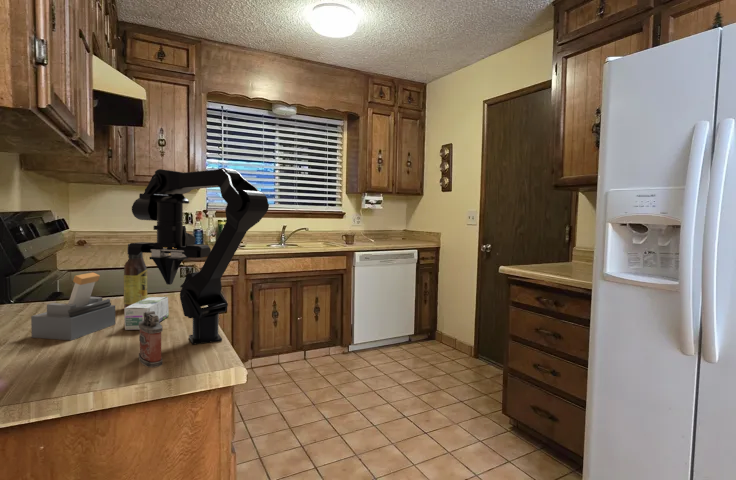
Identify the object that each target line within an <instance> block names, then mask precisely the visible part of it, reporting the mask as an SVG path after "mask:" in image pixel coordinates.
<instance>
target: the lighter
mask: <svg viewBox="0 0 736 480" xmlns="http://www.w3.org/2000/svg"><path fill="white" fill-rule="evenodd" d="M158 322H159V317H158V316H157V315H156V314H155V311H146V312H144V321H140V322H139V328H140V329H139V338H138V339H139V353H138V360H139V362H140V363H141V364H142V365H143V366H145V367H148V368H157V367H161V366H162V365H163V358H162V332H163V325H162V323H161V322H159V323H158Z"/></svg>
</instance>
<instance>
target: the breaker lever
mask: <svg viewBox="0 0 736 480" xmlns="http://www.w3.org/2000/svg"><path fill="white" fill-rule="evenodd" d="M73 277H74V278H73V280H72V282H73V283H74V285H73V289H72V291H71V294H70V298H69V299H68V302H67V304H76V308H77V307H80V306H84V305H88V302H89V299H90V297H92V293H93V289H94V287H95V284H96V283H97V282H99V279H100V277H101V275H100V274H98V273H95V272H87V273H82V274H77V275H74V276H73Z"/></svg>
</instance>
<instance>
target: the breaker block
mask: <svg viewBox="0 0 736 480" xmlns="http://www.w3.org/2000/svg"><path fill="white" fill-rule="evenodd" d="M30 317H31V318H30V319H31V326H30V327H31V338H33V339H34V338H35V339H49V340H64V341H73V340H76V339H78V338H81V337H84V336H87V335H89V334H92V333H95V332H99V331H100V330H103V329H106V328H108V327H112V326H114V325H116V305H113V304H112V302H111V299H109V298H105V299H103V297H101V296H100V297H99V296H90V299H89V302H88V305H84V306H80V307H77V308H76V304H68V303H60V302H59V303H58V302H50V303H47V304H46V311H45V312H42V313H38V314H34V315H31V316H30Z"/></svg>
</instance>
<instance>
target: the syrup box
mask: <svg viewBox="0 0 736 480" xmlns="http://www.w3.org/2000/svg"><path fill="white" fill-rule="evenodd" d="M123 308H124V307H123ZM123 310H124V331H128V330H131V331H133V330H138V331H140V328H139V322H140V321H144V312H146V311H155V314H156V315H157V316H158V317H159V322H158V323H161V322H162V321H163V320H165V319H166V318H168V317H169V297H168V296H147V298H145V299H143V300H141V301H138V302H136V303H134V304H132V305H130V306H128V307H126V308H124V309H123Z"/></svg>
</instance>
